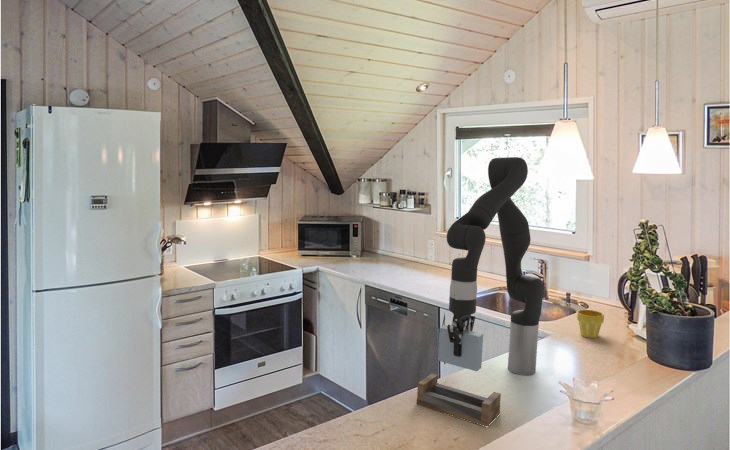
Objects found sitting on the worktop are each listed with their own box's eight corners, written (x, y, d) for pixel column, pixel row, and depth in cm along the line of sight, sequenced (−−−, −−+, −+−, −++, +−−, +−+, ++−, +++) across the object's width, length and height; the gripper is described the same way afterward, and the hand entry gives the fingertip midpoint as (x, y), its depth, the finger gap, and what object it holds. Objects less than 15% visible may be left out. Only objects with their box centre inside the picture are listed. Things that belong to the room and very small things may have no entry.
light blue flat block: (443, 357, 154) (444, 325, 153) (481, 368, 147) (483, 333, 146) (438, 360, 151) (439, 327, 150) (476, 371, 144) (478, 336, 143)
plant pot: (570, 332, 222) (572, 309, 220) (591, 330, 224) (592, 308, 223) (586, 340, 212) (588, 317, 210) (608, 338, 214) (610, 315, 213)
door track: (431, 393, 161) (432, 373, 160) (499, 415, 148) (501, 393, 147) (416, 404, 154) (417, 383, 153) (487, 427, 141) (488, 405, 140)
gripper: (461, 288, 154) (458, 344, 157) (439, 297, 143) (436, 358, 145) (485, 292, 150) (482, 350, 152) (464, 302, 139) (461, 365, 141)
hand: (460, 353), depth 149 cm, fingers closed on light blue flat block, 3 cm apart
